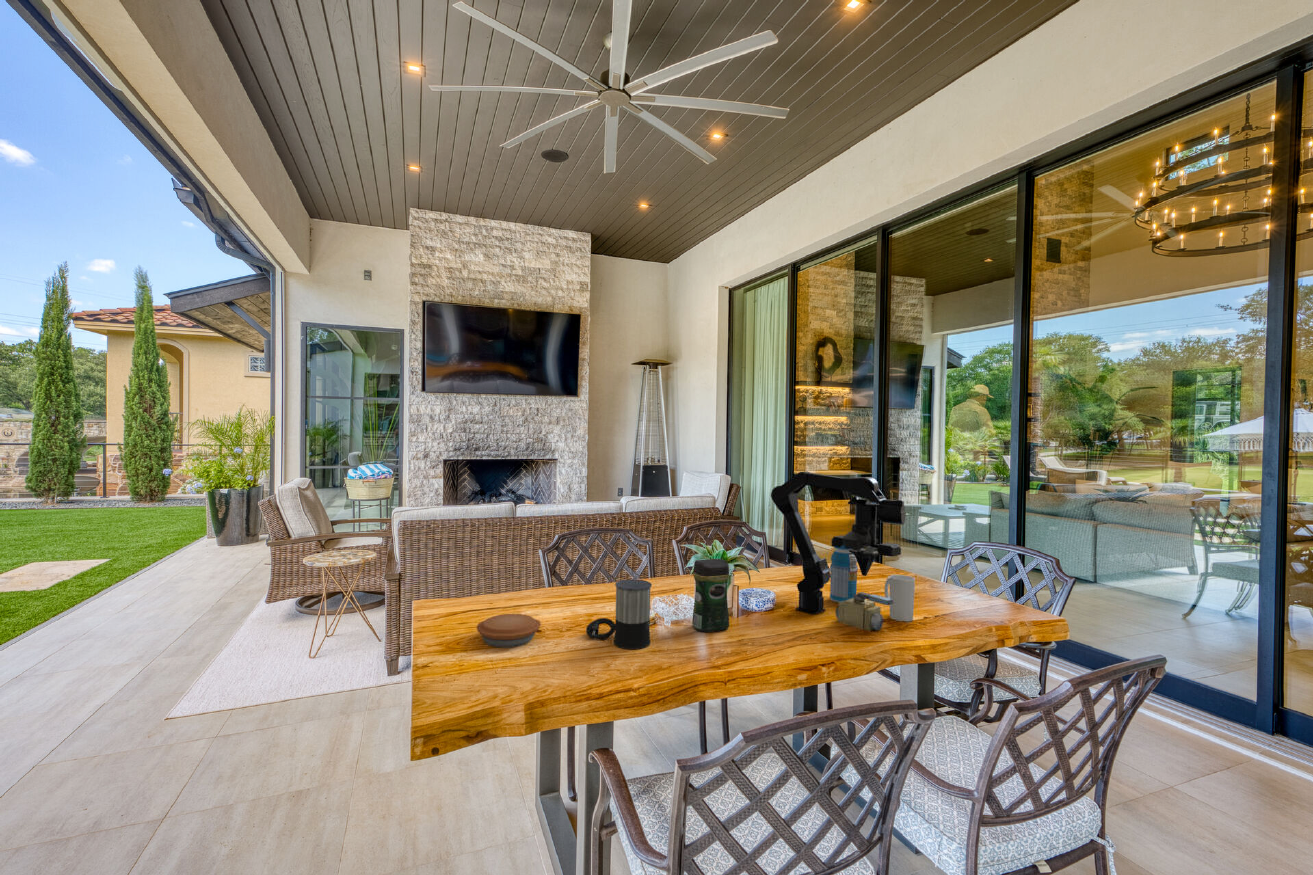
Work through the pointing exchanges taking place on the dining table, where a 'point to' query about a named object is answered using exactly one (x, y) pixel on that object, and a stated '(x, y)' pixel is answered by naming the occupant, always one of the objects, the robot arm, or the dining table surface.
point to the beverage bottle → (843, 575)
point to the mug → (901, 597)
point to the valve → (860, 614)
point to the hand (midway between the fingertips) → (864, 575)
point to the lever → (872, 598)
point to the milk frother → (628, 616)
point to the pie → (508, 630)
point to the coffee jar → (711, 595)
